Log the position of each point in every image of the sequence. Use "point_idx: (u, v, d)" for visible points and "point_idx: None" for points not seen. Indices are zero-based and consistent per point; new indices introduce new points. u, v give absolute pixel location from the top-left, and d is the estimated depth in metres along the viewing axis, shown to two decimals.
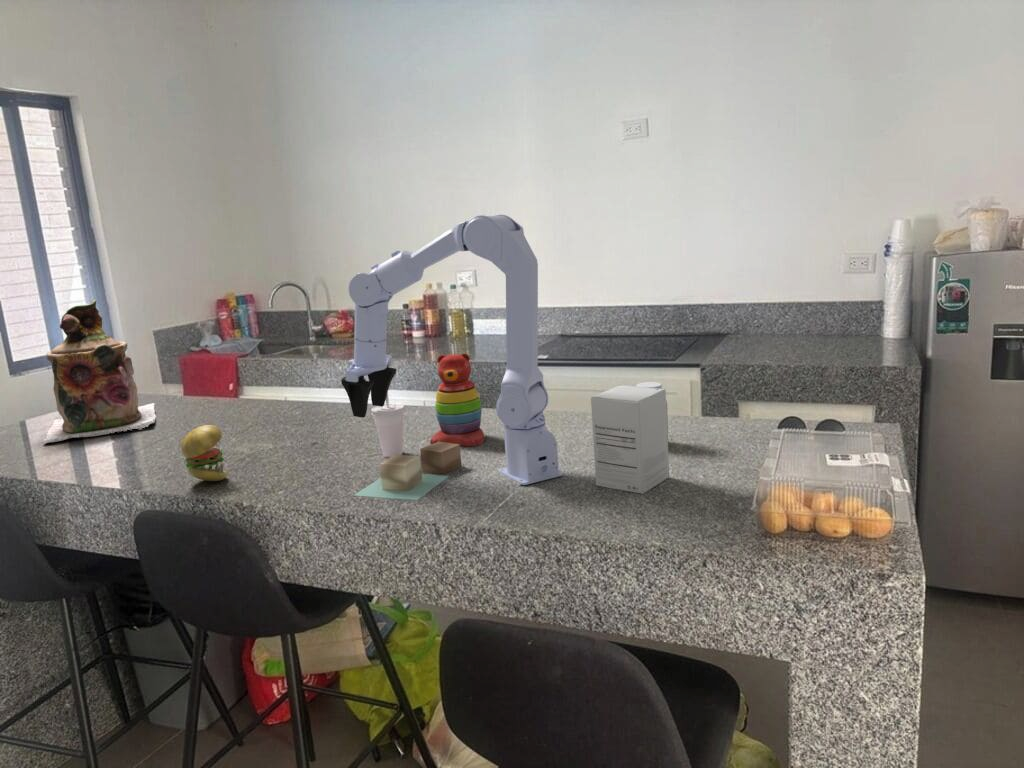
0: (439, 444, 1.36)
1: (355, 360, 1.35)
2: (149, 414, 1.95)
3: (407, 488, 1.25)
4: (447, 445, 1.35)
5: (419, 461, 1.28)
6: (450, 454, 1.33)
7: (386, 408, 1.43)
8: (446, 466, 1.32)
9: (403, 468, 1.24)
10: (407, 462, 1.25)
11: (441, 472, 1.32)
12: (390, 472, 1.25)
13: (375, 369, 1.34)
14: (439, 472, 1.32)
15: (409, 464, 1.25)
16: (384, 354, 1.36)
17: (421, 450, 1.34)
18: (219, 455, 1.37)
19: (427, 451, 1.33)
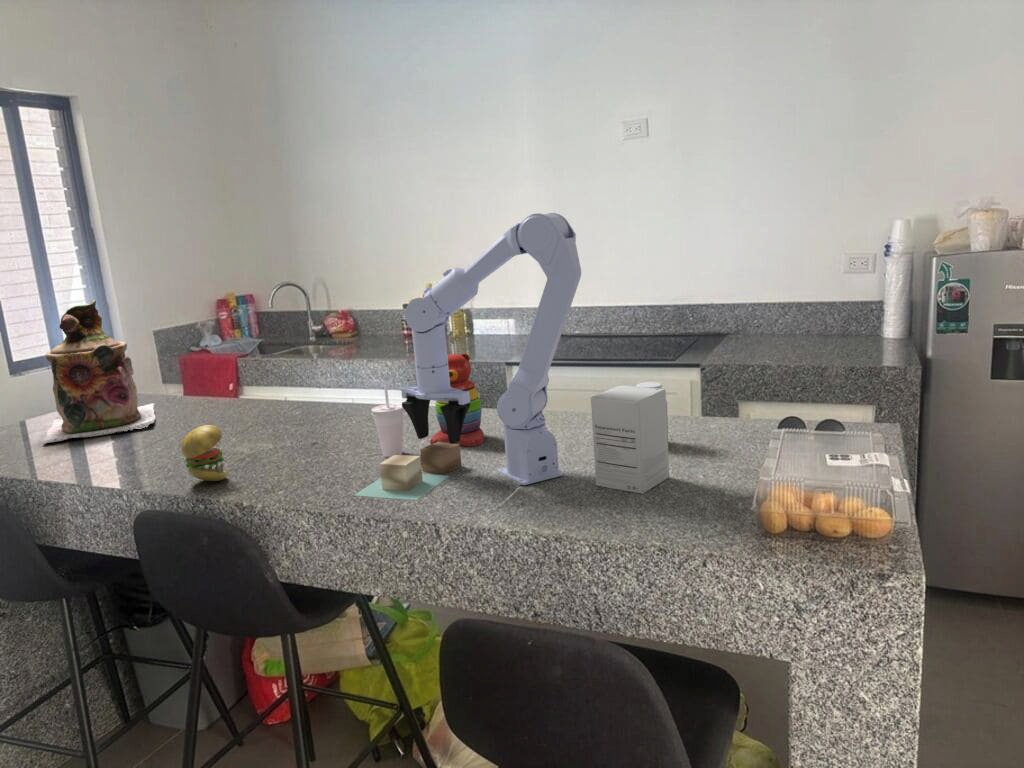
0: (439, 444, 1.36)
1: (436, 389, 1.30)
2: (149, 414, 1.95)
3: (407, 488, 1.25)
4: (447, 445, 1.35)
5: (419, 461, 1.28)
6: (450, 454, 1.33)
7: (386, 408, 1.43)
8: (446, 466, 1.32)
9: (403, 468, 1.24)
10: (407, 462, 1.25)
11: (441, 472, 1.32)
12: (390, 472, 1.25)
13: None
14: (439, 472, 1.32)
15: (409, 464, 1.25)
16: None
17: (421, 450, 1.34)
18: (219, 455, 1.37)
19: (427, 451, 1.33)
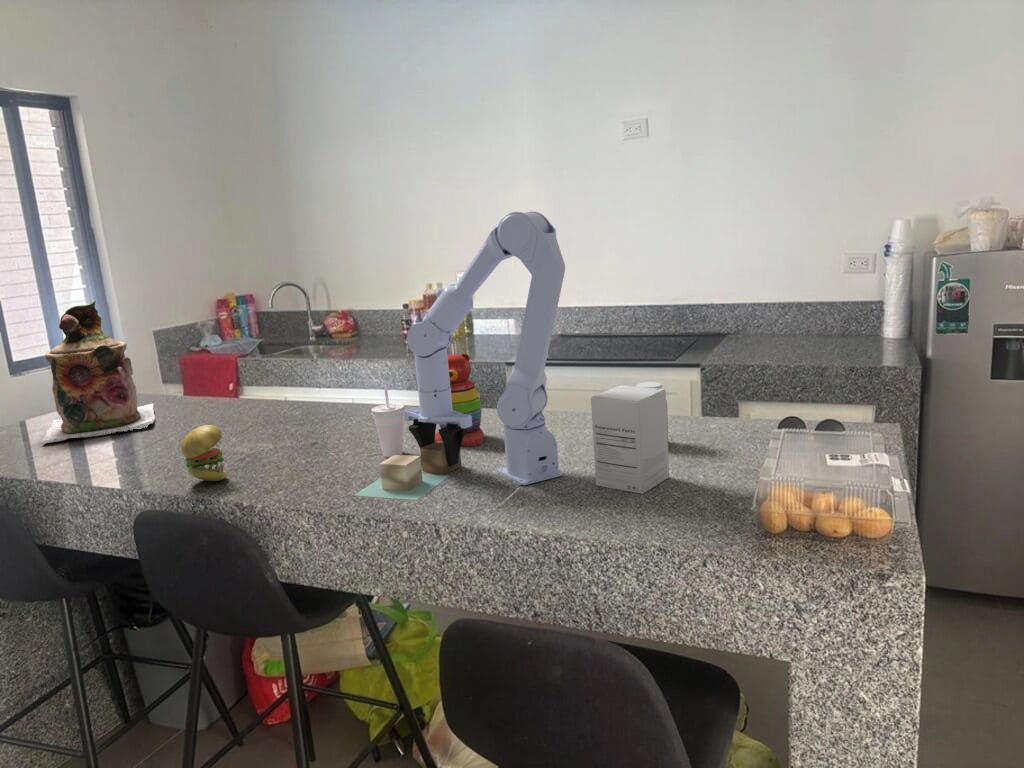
0: (439, 443, 1.36)
1: (438, 412, 1.30)
2: (148, 415, 1.95)
3: (407, 488, 1.25)
4: None
5: (419, 461, 1.28)
6: None
7: (386, 408, 1.43)
8: (446, 466, 1.32)
9: (403, 468, 1.24)
10: (407, 462, 1.25)
11: (441, 471, 1.32)
12: (390, 472, 1.25)
13: None
14: (439, 471, 1.32)
15: (409, 464, 1.25)
16: None
17: (421, 449, 1.34)
18: (219, 455, 1.37)
19: (427, 450, 1.33)
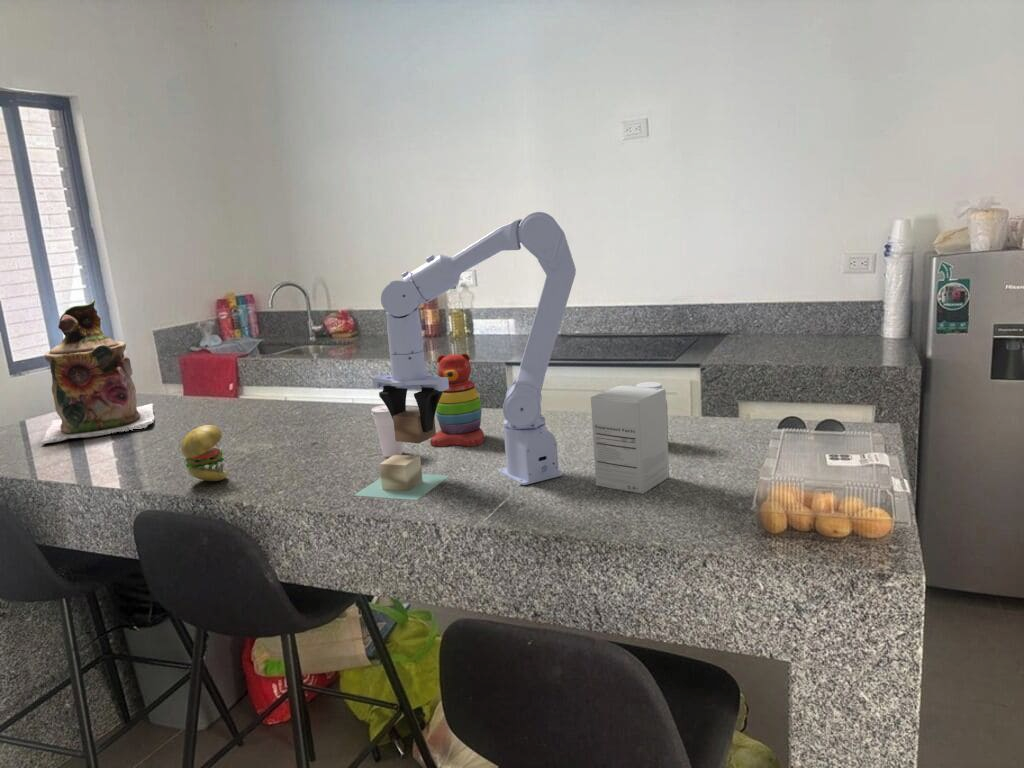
0: (412, 410, 1.31)
1: (413, 376, 1.25)
2: (148, 415, 1.95)
3: (407, 488, 1.25)
4: None
5: (419, 461, 1.28)
6: None
7: (386, 408, 1.43)
8: (421, 433, 1.27)
9: (403, 468, 1.24)
10: (407, 462, 1.25)
11: (417, 439, 1.26)
12: (390, 472, 1.25)
13: None
14: (414, 439, 1.27)
15: (409, 464, 1.25)
16: None
17: (394, 417, 1.28)
18: (219, 455, 1.37)
19: (401, 417, 1.27)
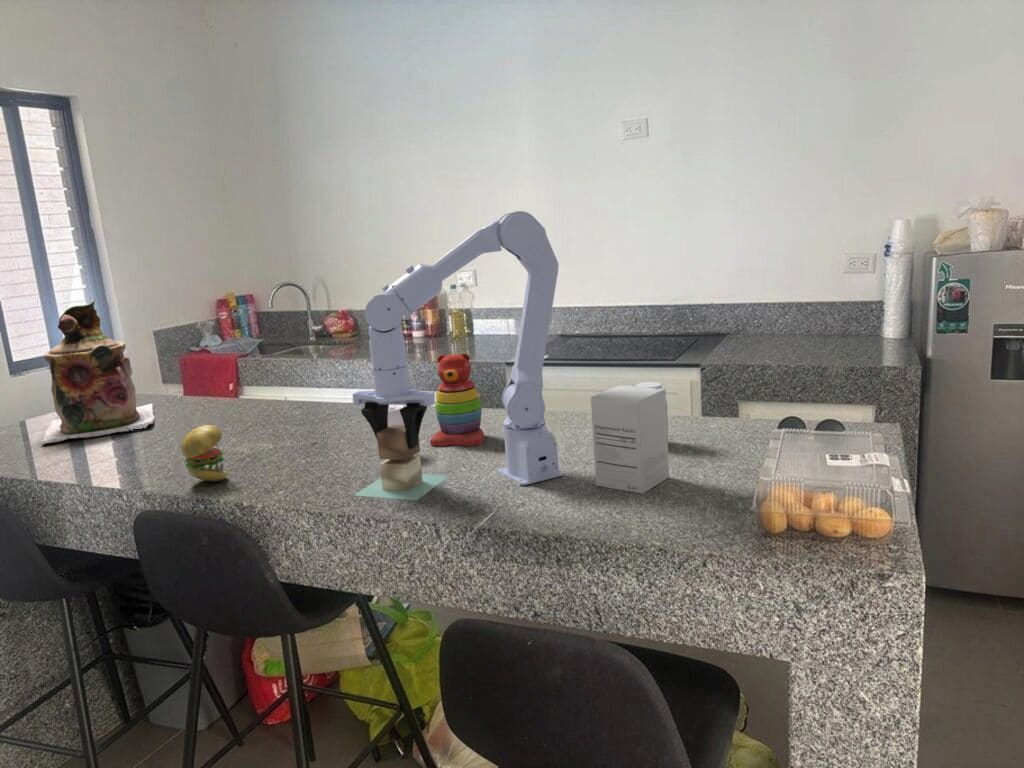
0: (394, 427, 1.28)
1: (398, 391, 1.22)
2: (147, 415, 1.95)
3: (407, 488, 1.25)
4: None
5: (419, 461, 1.28)
6: None
7: None
8: (407, 449, 1.24)
9: (403, 468, 1.24)
10: (407, 462, 1.25)
11: (403, 455, 1.24)
12: (390, 472, 1.25)
13: None
14: (400, 456, 1.24)
15: (409, 464, 1.25)
16: None
17: (378, 434, 1.25)
18: (219, 455, 1.37)
19: (385, 434, 1.24)
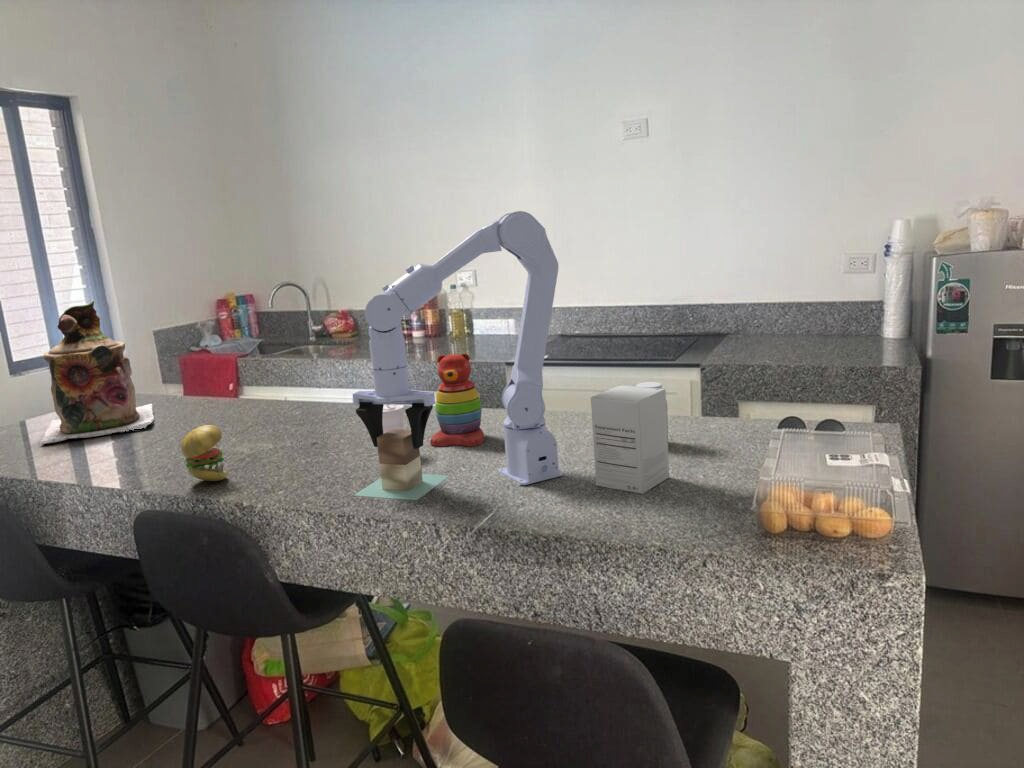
0: (394, 431, 1.28)
1: (398, 391, 1.22)
2: (147, 415, 1.95)
3: (407, 488, 1.25)
4: (405, 432, 1.27)
5: (419, 461, 1.28)
6: (410, 440, 1.25)
7: (386, 408, 1.43)
8: (407, 454, 1.24)
9: (403, 468, 1.24)
10: None
11: (403, 460, 1.24)
12: (390, 472, 1.25)
13: None
14: (400, 460, 1.24)
15: (409, 464, 1.25)
16: None
17: (378, 439, 1.25)
18: (219, 455, 1.37)
19: (385, 439, 1.24)
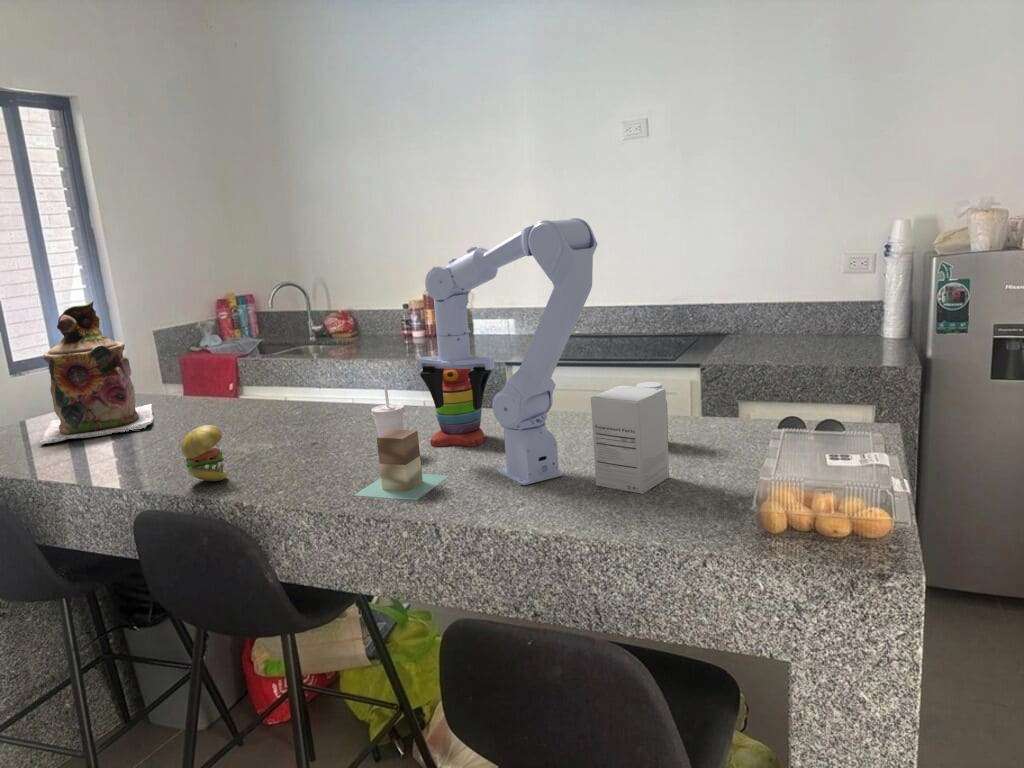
0: (394, 431, 1.28)
1: (461, 356, 1.33)
2: (146, 415, 1.94)
3: (407, 488, 1.25)
4: (405, 432, 1.27)
5: (419, 461, 1.28)
6: (410, 440, 1.25)
7: (386, 408, 1.43)
8: (407, 454, 1.24)
9: (403, 468, 1.24)
10: None
11: (403, 460, 1.24)
12: (390, 472, 1.25)
13: (472, 357, 1.36)
14: (400, 460, 1.24)
15: (409, 464, 1.25)
16: None
17: (378, 439, 1.25)
18: (219, 455, 1.37)
19: (385, 439, 1.24)
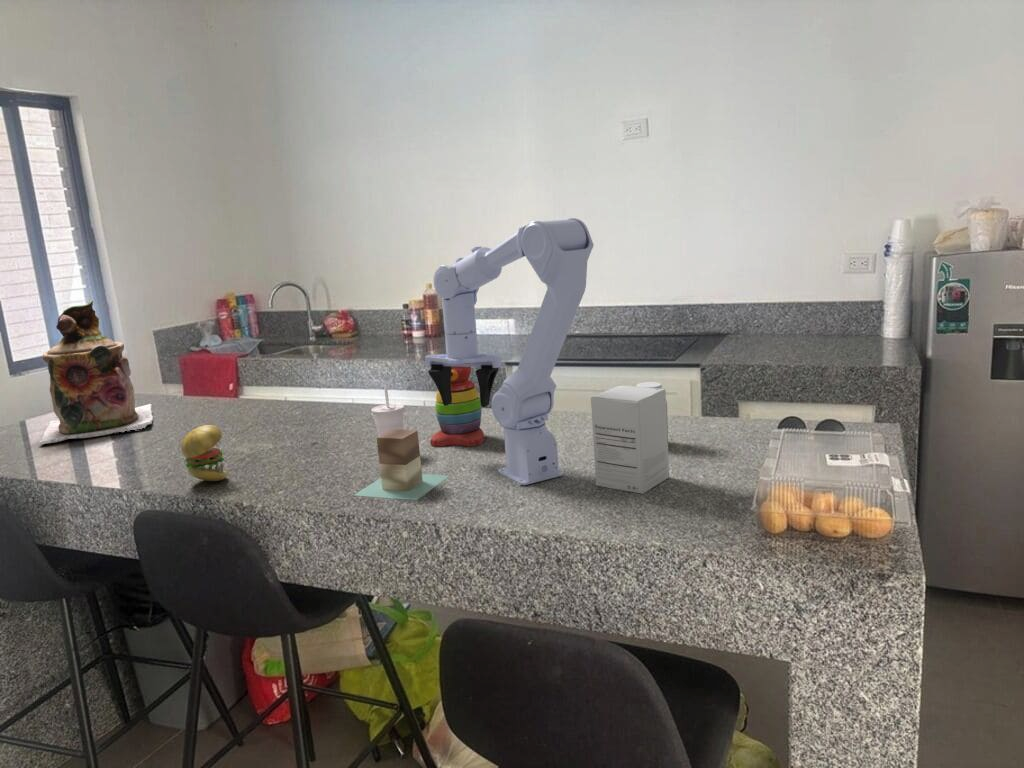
0: (394, 431, 1.28)
1: (468, 354, 1.34)
2: (146, 415, 1.94)
3: (407, 488, 1.25)
4: (405, 432, 1.27)
5: (419, 461, 1.28)
6: (410, 440, 1.25)
7: (386, 408, 1.43)
8: (407, 454, 1.24)
9: (403, 468, 1.24)
10: None
11: (403, 460, 1.24)
12: (390, 472, 1.25)
13: (480, 355, 1.38)
14: (400, 460, 1.24)
15: (409, 464, 1.25)
16: None
17: (378, 439, 1.25)
18: (219, 455, 1.37)
19: (385, 439, 1.24)
